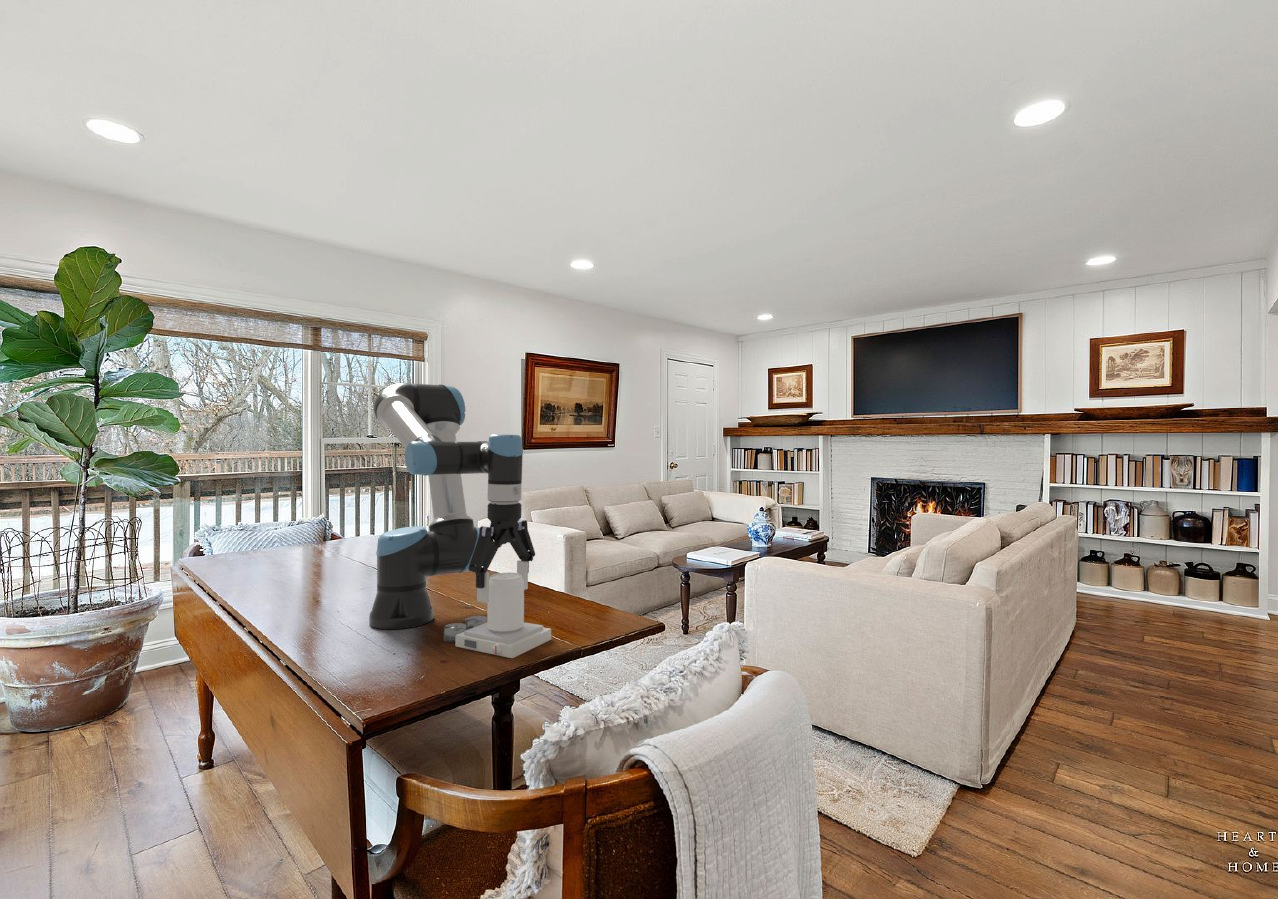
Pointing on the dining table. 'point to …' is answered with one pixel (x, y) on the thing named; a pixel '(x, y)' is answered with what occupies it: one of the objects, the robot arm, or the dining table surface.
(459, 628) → the spacer
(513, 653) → the scale
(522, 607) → the beverage can
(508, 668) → the dining table surface
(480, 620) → the spacer
